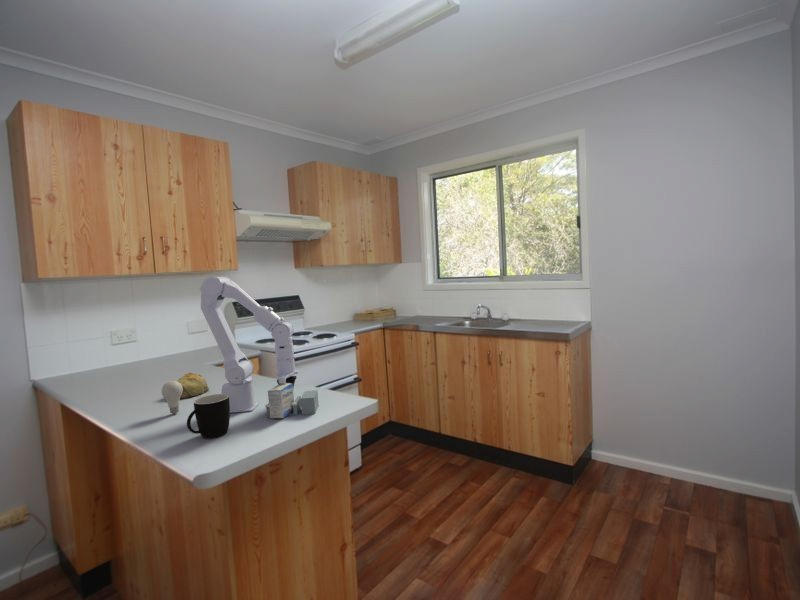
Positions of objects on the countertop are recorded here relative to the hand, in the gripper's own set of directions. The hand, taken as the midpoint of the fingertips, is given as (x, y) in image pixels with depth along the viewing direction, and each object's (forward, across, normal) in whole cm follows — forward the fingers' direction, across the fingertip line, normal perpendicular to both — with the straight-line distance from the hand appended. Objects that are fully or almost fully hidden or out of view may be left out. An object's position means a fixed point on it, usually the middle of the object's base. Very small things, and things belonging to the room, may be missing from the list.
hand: (288, 399), depth 139 cm
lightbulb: (+2, +1, +37) cm, 37 cm away
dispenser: (+2, -7, -3) cm, 8 cm away
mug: (+2, -22, +17) cm, 28 cm away
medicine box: (+2, -9, 0) cm, 10 cm away
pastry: (+2, +24, +43) cm, 49 cm away
